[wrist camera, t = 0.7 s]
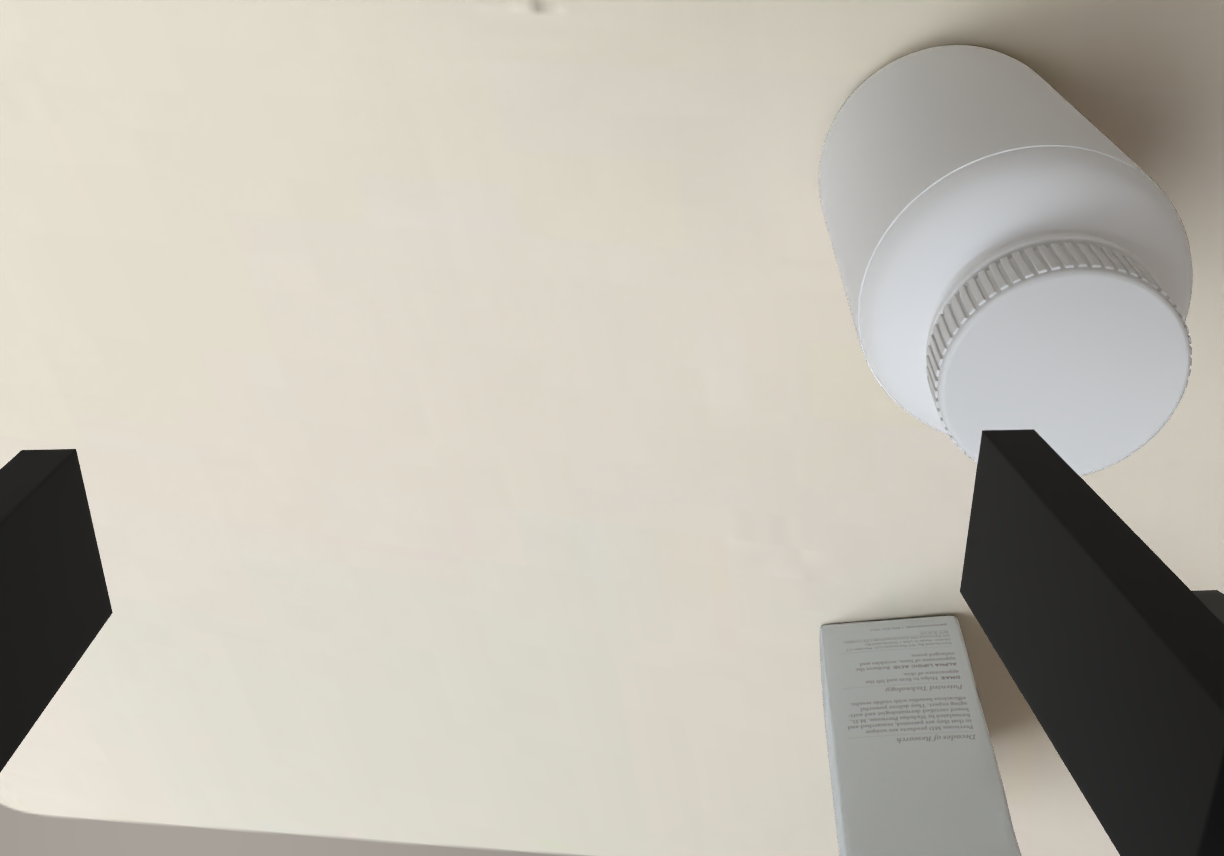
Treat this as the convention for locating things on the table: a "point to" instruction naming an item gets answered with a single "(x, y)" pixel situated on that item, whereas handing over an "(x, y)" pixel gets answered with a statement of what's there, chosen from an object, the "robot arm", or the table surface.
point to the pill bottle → (1006, 258)
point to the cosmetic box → (910, 743)
